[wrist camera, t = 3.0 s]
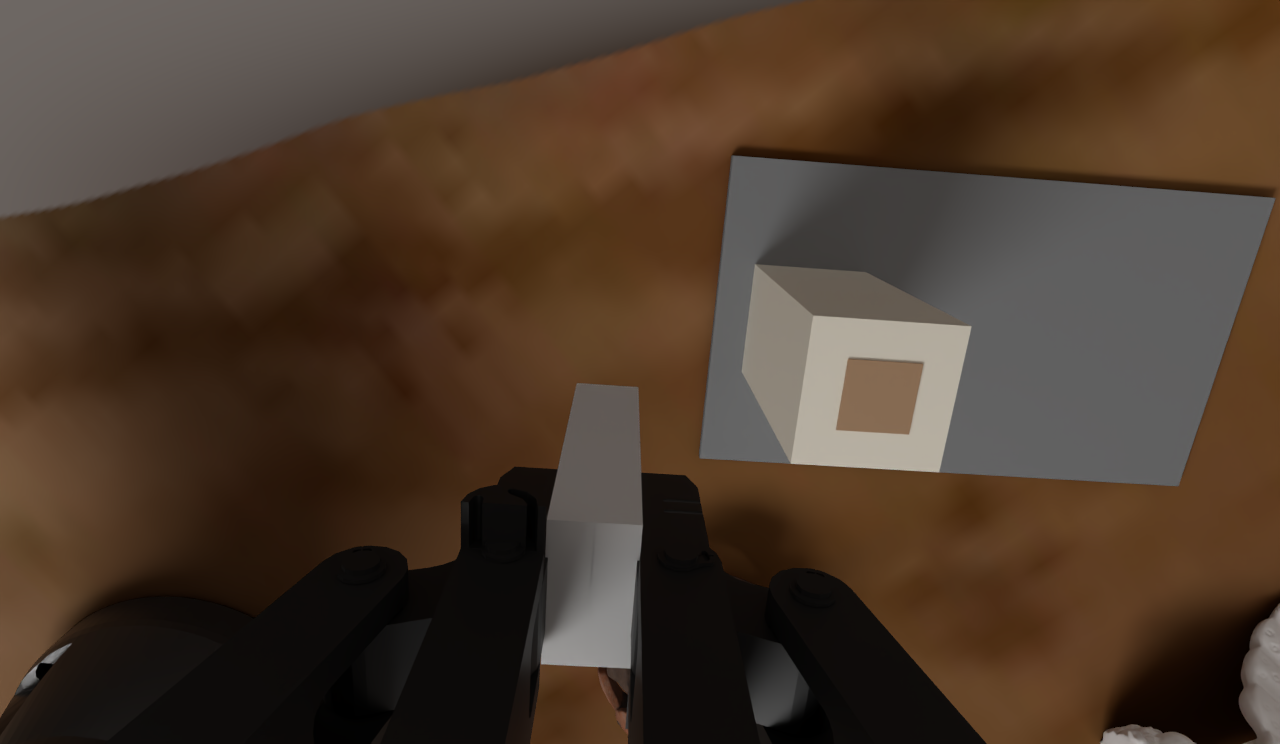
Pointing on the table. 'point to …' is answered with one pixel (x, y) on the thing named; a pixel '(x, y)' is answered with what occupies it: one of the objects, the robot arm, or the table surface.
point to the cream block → (852, 368)
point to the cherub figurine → (1269, 701)
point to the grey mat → (1008, 305)
